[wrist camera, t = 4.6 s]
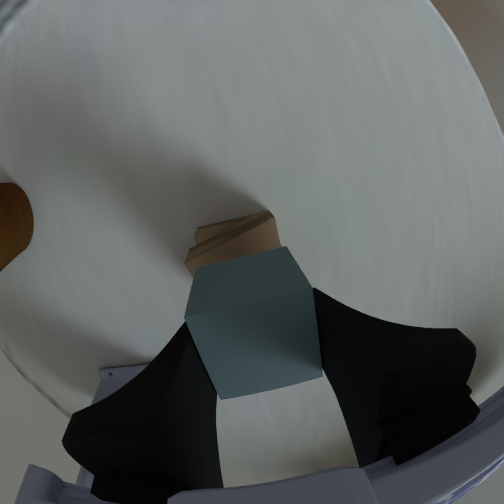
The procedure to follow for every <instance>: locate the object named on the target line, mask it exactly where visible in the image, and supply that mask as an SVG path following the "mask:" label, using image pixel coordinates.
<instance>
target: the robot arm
mask: <svg viewBox="0 0 504 504" xmlns="http://www.w3.org/2000/svg"><path fill="white" fill-rule="evenodd" d="M312 289H313V296H314V304H315V311H316V319H317V327H318V336H319V344H320V354H321V363H322V368H323V370H324V372H325V374H326V376H327V378H328V380H329V382H330V384H331V386H332V388H333V390H334V392H335V394H336V397H337V400H338V402H339V405H340V408H341V411H342V413H343V416H344V419H345V422H346V425H347V428H348V431H349V434H350V437H351V440H352V443H353V447H354V450H355V453H356V457H357V460H358V464H359V467H360V468H358V467H338V468H333V469H328V470H323V471H318V472H314V473H310V474H306V475H302V476H298V477H293V478H288V479H284V480H278V481H273V482H267V483H261V484H254V485H247V486H238V487H228V488H224V486H223V481H222V474H221V468H220V461H219V452H218V442H217V430H216V404H217V391H216V389H215V387H214V385H213V383H212V381H211V378H210V376H209V374H208V372H207V370H206V368H205V365H204V363H203V361H202V359H201V356H200V354H199V352H198V350H197V347H196V345H195V343H194V340H193V338H192V335H191V333H190V331H189V328H188V326H187V323H186V321H185V322H184V323H183V325H182V326H181V327H180V329H179V330H178V331H177V332H176V334H175V335H174V336H173V337H172V339H171V340H170V341H169V343H168V344H167V345H166V346H165V347H164V348H163V350H162V351H161V352H160V353H159V354H158V355H157V356H156V357H155V359H154V360H153V361H152V362H151V363H150V364H145V365H137V366H128V367H118V368H108V369H100V370H99V372H98V374H99V376H100V378H101V379H102V380H101V382H100V385H99V387H98V389H97V392H96V394H95V396H94V399H93V401H92V403H91V406H89V407H86V408H84V409H82V410H80V411H78V412H75V413H73V415H72V417H71V419H70V422H69V424H68V427H67V429H66V432H65V434H64V436H63V439H62V444H63V446H64V448H65V450H66V451H67V453H68V454H69V455H70V456H71V457H72V458H73V459H74V460H76V461H77V462H78V463H79V464H80V465H81V467H80V471H79V474H78V477H77V481H76V485H75V484H72V483H68V482H64V481H62V479H61V478H59V477H58V476H57V475H56V474H54V473H52V472H51V471H49V470H47V469H44V468H41V467H38V466H35V465H32V464H29V465H28V468H27V470H26V473H25V476H24V478H23V481H22V484H21V486H20V489H19V492H18V495H17V498H16V501H15V504H452V503H453V502H455V501H456V500H458V499H459V498H461V497H462V496H463V495H465V494H466V493H468V492H469V491H470V490H472V489H473V488H474V487H476V486H477V485H478V484H480V483H481V482H482V481H484V480H485V479H486V478H487V477H488V476H490V475H491V474H492V473H493V472H495V471H496V470H497V469H498V468H499V467H500V466H501V465H503V464H504V386H503V387H502V388H501V389H500V390H498V391H497V392H496V393H495V394H493V395H492V396H491V397H489V398H488V399H487V400H486V401H484V402H483V403H482V404H480V405H479V406H477V405H476V403H475V402H474V401H473V400H472V398H471V397H470V396H469V395H471V393H472V391H471V389H470V387H469V386H468V385H467V384H466V383H467V381H468V378H469V376H470V373H471V371H472V368H473V365H474V362H475V358H476V347H475V345H474V344H473V343H472V342H471V341H470V340H469V339H468V338H467V337H466V336H465V335H464V334H463V333H462V332H461V331H459V330H458V329H457V328H423V327H414V326H407V325H402V324H397V323H392V322H388V321H385V320H381V319H378V318H375V317H372V316H369V315H367V314H364V313H362V312H359V311H357V310H355V309H352V308H350V307H348V306H346V305H344V304H342V303H340V302H339V301H337V300H335V299H333V298H331V297H330V296H328V295H326V294H325V293H323V292H321V291H320V290H318V289H316V288H312ZM111 373H112V374H111Z"/></svg>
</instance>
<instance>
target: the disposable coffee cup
mask: <svg viewBox="0 0 504 504" xmlns="http://www.w3.org/2000/svg"><path fill="white" fill-rule="evenodd" d="M32 234H33V214H32V209H31V206H30V202H29V200H28V198H27V196H26V194H25V193H24V191H23V190H22V189H21V188H20V187H19V186H17V185H16V184H14V183H0V272H1V271H2V269H4V268H5V267H6V265H8V264H9V263H10V262H11V261H12V260H13V259H14V258H16V257H17V256H18V255H19V254H20V253H21V252H22V251H24V250H25V249H26V248H27V246H28V245H29V243H30V241H31V238H32Z"/></svg>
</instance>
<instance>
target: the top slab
mask: <svg viewBox="0 0 504 504" xmlns="http://www.w3.org/2000/svg"><path fill="white" fill-rule="evenodd" d="M281 247H282V246H281V244H280V242H279V240H278V238H277V235H276V233H275V231H274V229H273V227H272V225H271V223H270V221H269V219H268V218H267V217H266V215H265V214H264V212H263V211H262V212H260V213H258V214H256V215H254V216H252V217H250V218H248V219H246V220H244V221H242V222H240V223H238V224H236V225H234V226H232V227H230V228H228V229H226V230H224V231H223V232H221V233H219V234H217V235H215V236H213V237H211V238H209V239H207V240H205V241H203V242H201V243H200V244H198V245H196V246H194V247H192V248H190V250H189V253H188V255H187V258H186V261H185V265H186V266H187V268H188V270H189V271H190V273H191V274H192V276H193V278H194V274H195V270H196V268H198V267H202V266H206V265H210V264H214V263H218V262H223V261H227V260H231V259H235V258H239V257H243V256H247V255H252V254H256V253H260V252H264V251H268V250H272V249H276V248H281Z"/></svg>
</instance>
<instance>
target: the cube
mask: <svg viewBox="0 0 504 504" xmlns="http://www.w3.org/2000/svg"><path fill="white" fill-rule="evenodd" d="M184 318H185V321H186V323H187V326H188V328H189V331H190V333H191V335H192V338H193V340H194V343H195V345H196V347H197V350H198V352H199V354H200V356H201V359H202V361H203V363H204V365H205V368H206V370H207V372H208V374H209V376H210V378H211V381H212V383H213V385H214V387H215V389H216V391H217V393H218V395H219V397H220V399H221V400H222V399H228V398H234V397H239V396H244V395H250V394H255V393H259V392H264V391H269V390H273V389H277V388H282V387H286V386H290V385H294V384H298V383H301V382H305V381H309V380H312V379H316V378H319V377H323V373H322V363H321V354H320V344H319V336H318V327H317V319H316V311H315V304H314V296H313V289H312V286H311V285H310V283H309V281H308V280H307V278H306V277H305V275H304V273H303V272H302V270H301V269H300V267H299V265H298V264H297V262H296V261H295V259H294V257H293V256H292V254H291V253H290V251H289V250H288V248H287V247H286V246H285V247H281V248H276V249H272V250H268V251H264V252H260V253H256V254H252V255H247V256H243V257H239V258H235V259H231V260H227V261H223V262H218V263H214V264H210V265H206V266H202V267H198V268H196V270H195V274H194V278H193V282H192V286H191V291H190V295H189V299H188V303H187V307H186V312H185V316H184Z"/></svg>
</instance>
